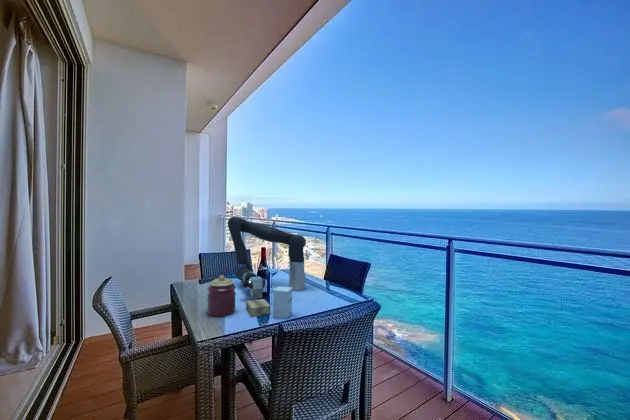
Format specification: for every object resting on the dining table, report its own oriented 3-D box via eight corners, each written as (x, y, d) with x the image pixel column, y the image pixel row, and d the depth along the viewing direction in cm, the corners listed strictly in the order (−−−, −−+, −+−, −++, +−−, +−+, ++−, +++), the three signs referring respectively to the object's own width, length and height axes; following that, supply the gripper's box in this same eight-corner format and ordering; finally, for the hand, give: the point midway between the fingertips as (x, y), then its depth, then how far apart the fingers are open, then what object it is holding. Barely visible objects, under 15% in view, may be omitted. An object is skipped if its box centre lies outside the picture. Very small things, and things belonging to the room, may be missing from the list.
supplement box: (287, 318, 134) (288, 291, 134) (272, 317, 136) (272, 290, 136) (292, 313, 141) (292, 287, 141) (277, 311, 143) (277, 285, 143)
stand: (263, 306, 150) (264, 298, 150) (270, 314, 140) (270, 305, 140) (246, 309, 146) (246, 301, 146) (251, 316, 136) (251, 308, 136)
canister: (208, 318, 133) (208, 279, 133) (206, 309, 145) (206, 273, 145) (237, 314, 138) (237, 277, 138) (233, 305, 150) (233, 271, 150)
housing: (259, 294, 161) (259, 276, 161) (262, 297, 156) (262, 278, 155) (250, 295, 159) (250, 277, 159) (252, 298, 154) (252, 279, 153)
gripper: (237, 273, 167) (243, 281, 152) (262, 271, 173) (270, 278, 158) (237, 286, 167) (243, 295, 152) (262, 284, 173) (270, 292, 158)
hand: (257, 286), depth 155 cm, fingers closed on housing, 5 cm apart
